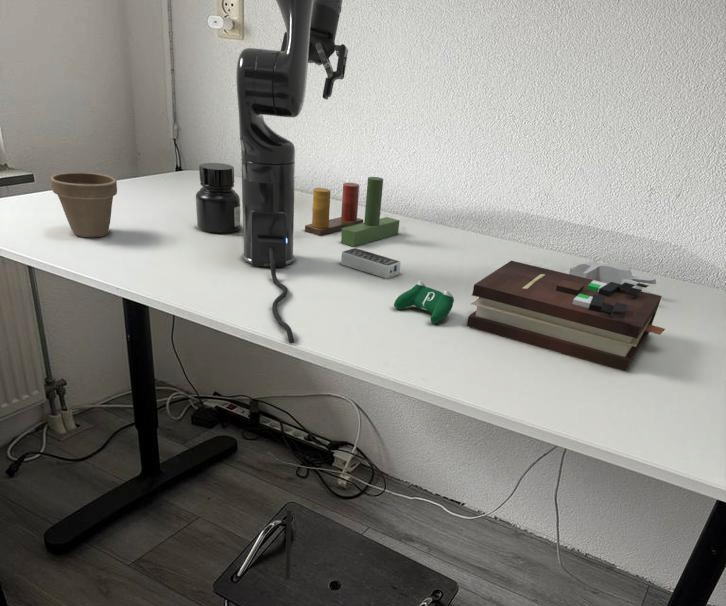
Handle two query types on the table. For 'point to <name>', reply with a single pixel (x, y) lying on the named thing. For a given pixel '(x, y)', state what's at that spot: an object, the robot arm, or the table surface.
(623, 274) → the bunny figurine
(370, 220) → the green peg on base
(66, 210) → the flower pot
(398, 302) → the gaming controller
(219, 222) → the ink bottle
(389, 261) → the multiport hub
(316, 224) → the rod stand
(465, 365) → the table surface
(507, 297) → the decorative book
